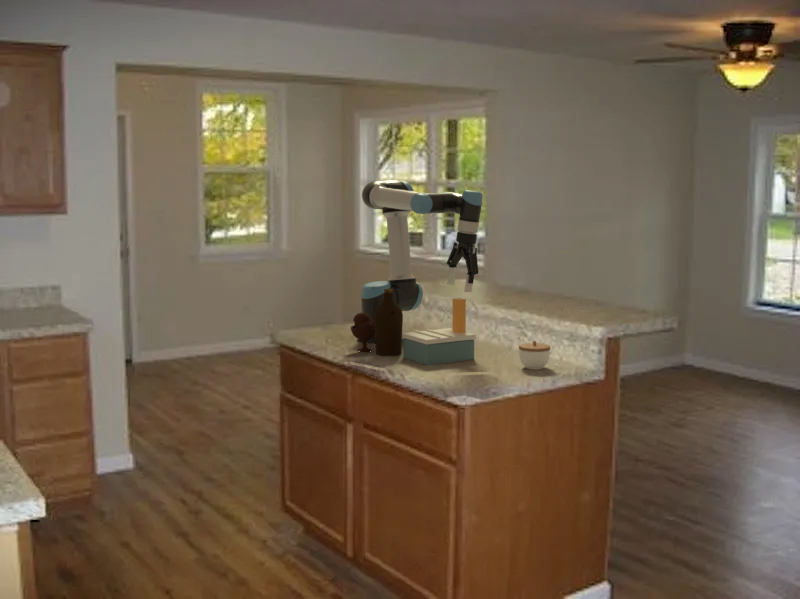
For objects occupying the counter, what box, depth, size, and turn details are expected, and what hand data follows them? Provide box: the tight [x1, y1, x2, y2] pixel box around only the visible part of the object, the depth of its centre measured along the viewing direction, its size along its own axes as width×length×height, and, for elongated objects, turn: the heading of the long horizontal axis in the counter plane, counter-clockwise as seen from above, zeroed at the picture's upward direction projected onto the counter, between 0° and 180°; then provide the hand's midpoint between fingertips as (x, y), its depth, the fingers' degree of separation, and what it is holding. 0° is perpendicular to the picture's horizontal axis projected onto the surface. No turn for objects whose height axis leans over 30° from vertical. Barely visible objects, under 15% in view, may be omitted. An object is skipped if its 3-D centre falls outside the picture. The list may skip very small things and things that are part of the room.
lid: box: [402, 297, 476, 345], centre depth 321 cm, size 17×21×14 cm
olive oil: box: [374, 289, 404, 357], centre depth 330 cm, size 11×11×25 cm
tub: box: [402, 338, 475, 366], centre depth 323 cm, size 16×20×8 cm
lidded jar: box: [518, 340, 551, 371], centre depth 310 cm, size 11×11×9 cm
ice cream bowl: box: [350, 312, 375, 353], centre depth 341 cm, size 11×11×15 cm
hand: (459, 288), depth 338 cm, fingers open, 13 cm apart
